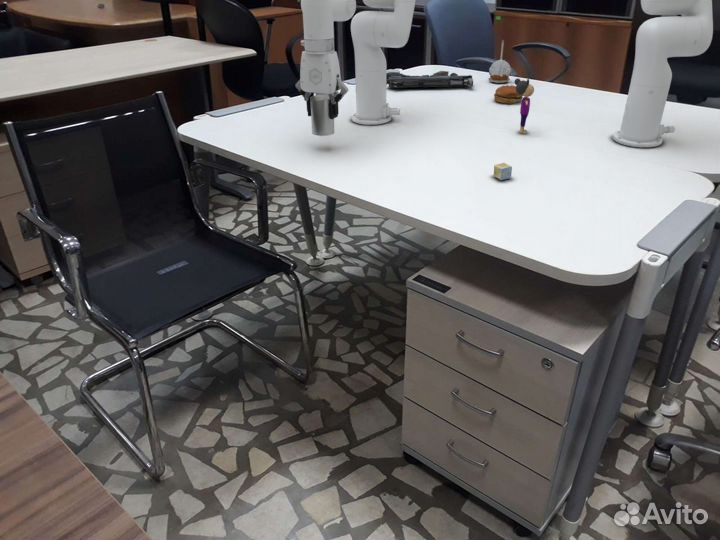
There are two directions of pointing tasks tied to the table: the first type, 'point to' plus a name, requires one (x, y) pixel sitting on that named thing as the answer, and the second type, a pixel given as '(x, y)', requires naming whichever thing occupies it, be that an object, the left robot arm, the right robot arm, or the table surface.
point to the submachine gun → (428, 80)
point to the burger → (507, 94)
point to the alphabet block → (502, 171)
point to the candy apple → (500, 70)
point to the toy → (524, 100)
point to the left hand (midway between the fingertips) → (322, 115)
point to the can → (321, 115)
